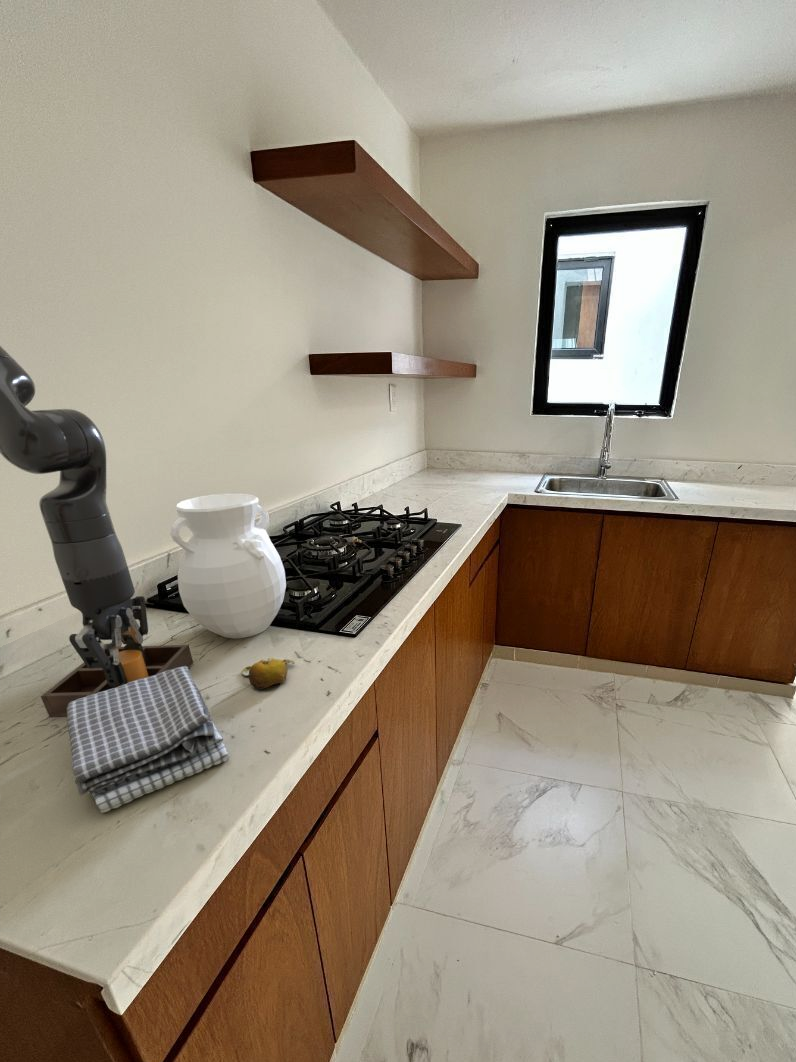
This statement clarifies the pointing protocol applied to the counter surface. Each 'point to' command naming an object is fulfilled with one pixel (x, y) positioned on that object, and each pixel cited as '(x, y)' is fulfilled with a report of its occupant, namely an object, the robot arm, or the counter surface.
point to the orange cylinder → (133, 665)
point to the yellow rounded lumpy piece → (267, 672)
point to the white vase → (228, 565)
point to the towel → (141, 737)
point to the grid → (95, 681)
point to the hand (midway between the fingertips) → (129, 675)
